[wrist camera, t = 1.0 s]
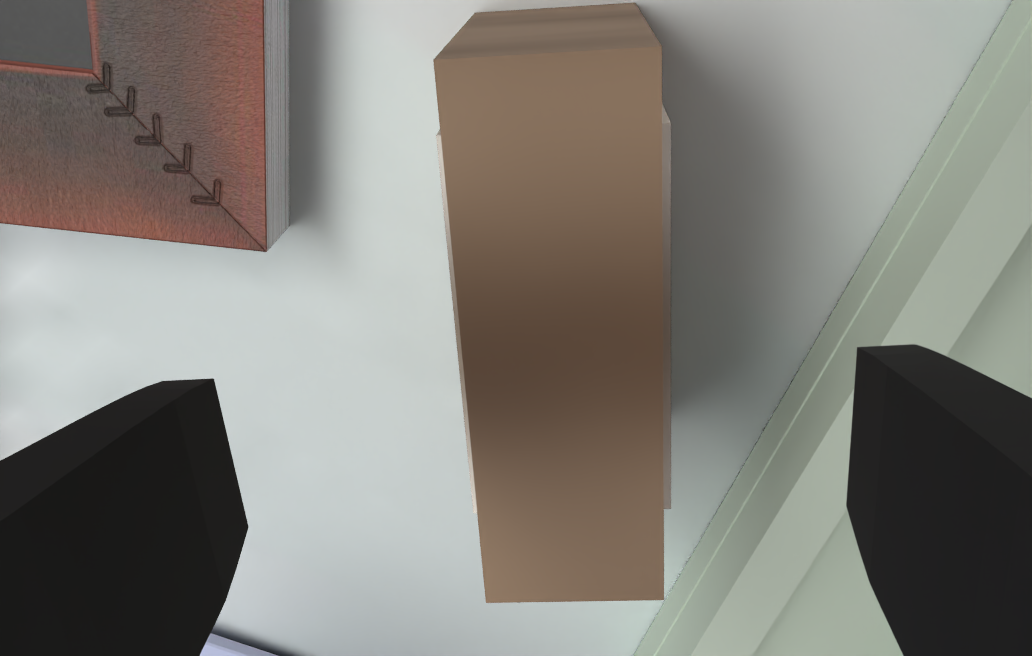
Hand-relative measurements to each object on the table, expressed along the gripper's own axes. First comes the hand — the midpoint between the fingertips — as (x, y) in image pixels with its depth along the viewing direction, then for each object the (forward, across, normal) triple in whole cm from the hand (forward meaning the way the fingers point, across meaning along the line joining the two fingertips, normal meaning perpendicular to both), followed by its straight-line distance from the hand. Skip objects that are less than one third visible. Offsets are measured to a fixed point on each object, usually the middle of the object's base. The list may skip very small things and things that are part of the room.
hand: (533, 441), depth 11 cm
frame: (+10, 0, +1) cm, 10 cm away
